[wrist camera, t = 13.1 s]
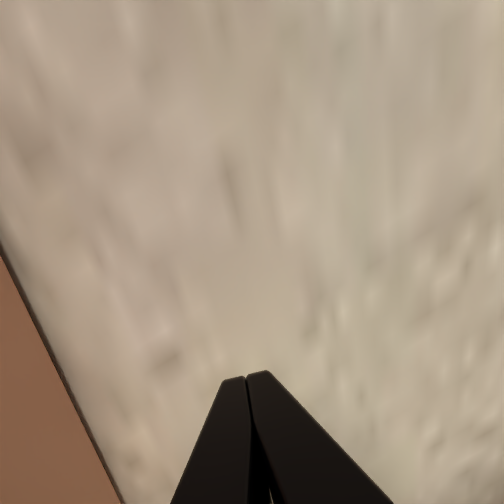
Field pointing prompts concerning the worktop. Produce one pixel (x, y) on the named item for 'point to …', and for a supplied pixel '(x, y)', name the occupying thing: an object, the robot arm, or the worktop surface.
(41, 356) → the tray
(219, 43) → the worktop surface
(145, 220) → the worktop surface
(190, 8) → the worktop surface
